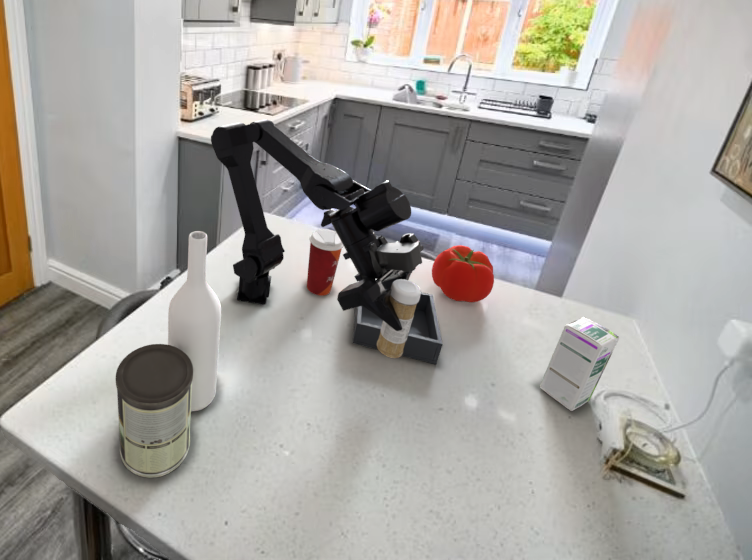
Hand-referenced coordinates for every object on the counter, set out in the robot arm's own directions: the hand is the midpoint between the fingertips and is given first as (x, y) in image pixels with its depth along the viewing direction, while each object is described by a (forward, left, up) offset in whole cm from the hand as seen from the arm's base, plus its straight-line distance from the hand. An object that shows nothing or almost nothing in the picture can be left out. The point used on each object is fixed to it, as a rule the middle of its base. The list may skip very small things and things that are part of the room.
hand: (405, 324), depth 73 cm
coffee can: (-37, -19, -13) cm, 44 cm away
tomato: (+21, +31, -13) cm, 40 cm away
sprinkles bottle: (-1, +1, -7) cm, 7 cm away
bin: (+3, +15, -13) cm, 20 cm away
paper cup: (-12, +25, -13) cm, 31 cm away
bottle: (-34, -9, -13) cm, 38 cm away
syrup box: (+31, +4, -13) cm, 34 cm away
